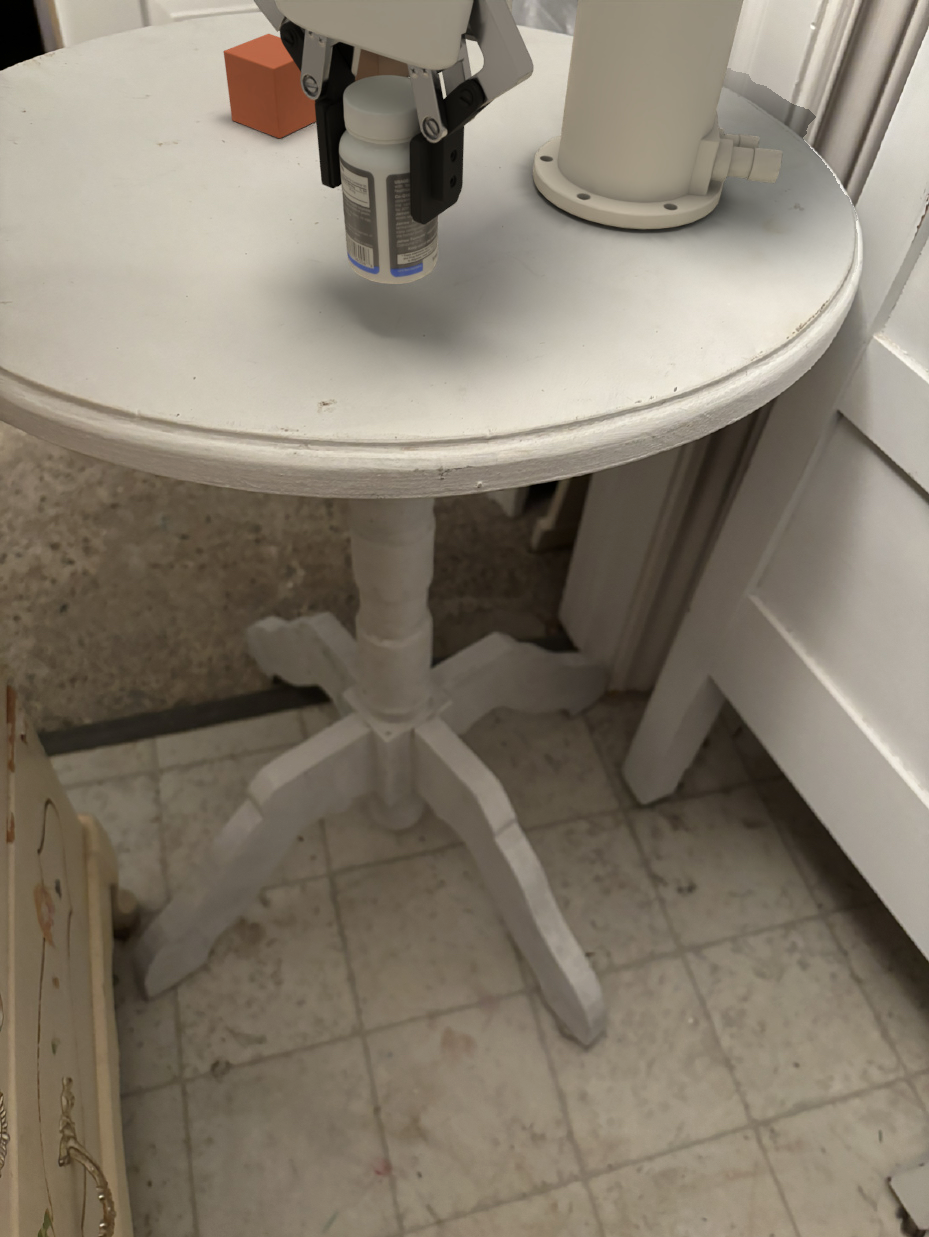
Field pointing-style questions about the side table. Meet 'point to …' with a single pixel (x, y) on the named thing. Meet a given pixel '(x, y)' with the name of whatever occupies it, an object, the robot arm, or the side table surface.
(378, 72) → the walnut block
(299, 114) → the terracotta block
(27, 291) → the side table surface
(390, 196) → the pill bottle
